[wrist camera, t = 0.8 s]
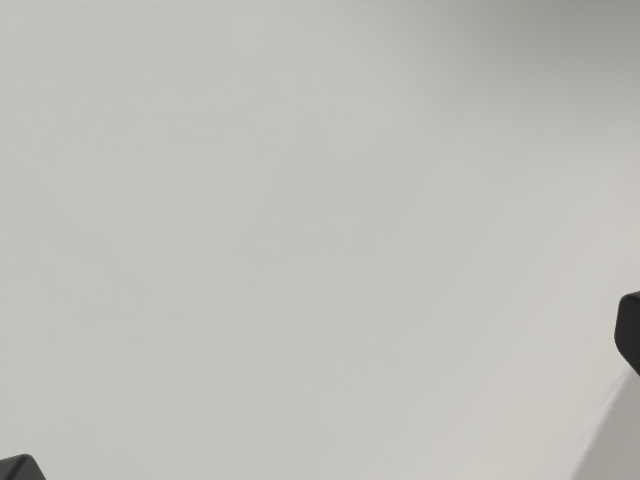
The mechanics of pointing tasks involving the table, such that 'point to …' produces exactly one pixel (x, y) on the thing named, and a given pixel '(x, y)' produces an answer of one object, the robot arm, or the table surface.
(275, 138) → the table surface
